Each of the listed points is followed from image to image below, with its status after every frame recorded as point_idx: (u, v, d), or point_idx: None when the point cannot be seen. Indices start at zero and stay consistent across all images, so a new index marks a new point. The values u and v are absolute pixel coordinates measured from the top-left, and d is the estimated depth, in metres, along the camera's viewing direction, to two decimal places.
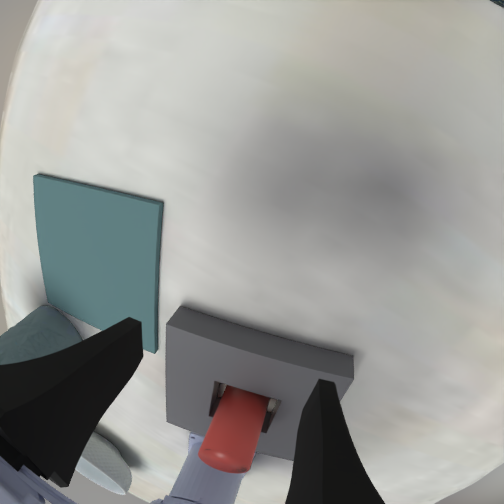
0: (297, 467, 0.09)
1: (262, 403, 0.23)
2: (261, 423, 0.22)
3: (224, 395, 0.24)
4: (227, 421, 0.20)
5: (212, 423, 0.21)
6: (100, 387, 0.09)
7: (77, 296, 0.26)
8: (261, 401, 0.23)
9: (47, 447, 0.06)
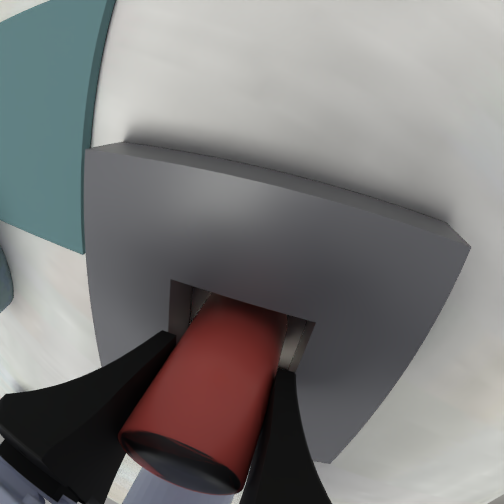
0: (254, 457, 0.09)
1: (272, 335, 0.11)
2: (270, 379, 0.10)
3: (193, 321, 0.12)
4: (189, 365, 0.09)
5: (158, 373, 0.09)
6: None
7: None
8: (269, 331, 0.11)
9: (87, 474, 0.06)
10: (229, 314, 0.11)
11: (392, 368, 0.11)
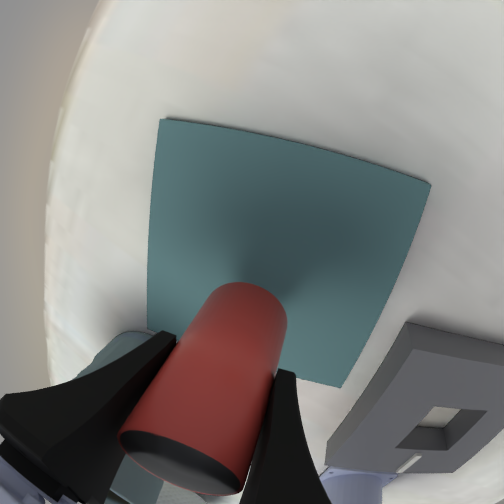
0: (254, 457, 0.09)
1: (271, 335, 0.11)
2: (270, 378, 0.10)
3: (192, 321, 0.12)
4: (187, 365, 0.09)
5: (157, 373, 0.09)
6: None
7: None
8: (268, 330, 0.11)
9: (87, 474, 0.06)
10: (228, 314, 0.11)
11: None
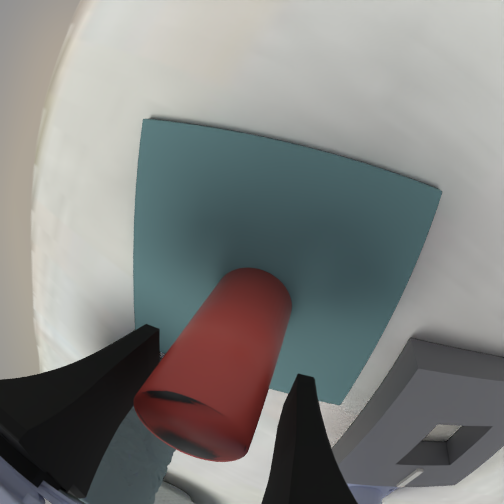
0: (275, 462, 0.09)
1: (276, 313, 0.13)
2: (275, 352, 0.11)
3: None
4: (201, 334, 0.10)
5: (172, 345, 0.11)
6: (118, 397, 0.09)
7: None
8: (273, 309, 0.13)
9: (67, 461, 0.06)
10: (237, 293, 0.13)
11: None
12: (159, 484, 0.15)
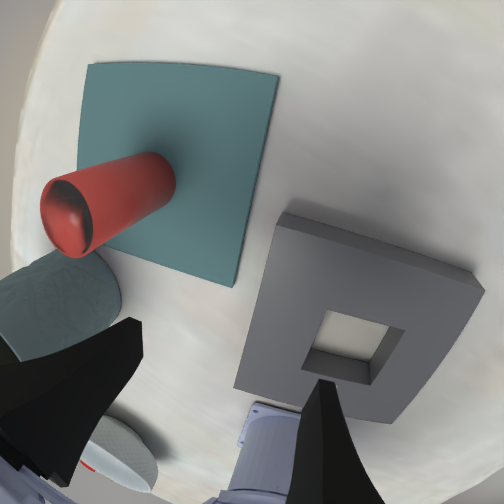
0: (297, 467, 0.09)
1: (151, 170, 0.17)
2: (141, 188, 0.15)
3: None
4: None
5: None
6: (100, 387, 0.09)
7: None
8: (149, 167, 0.17)
9: (47, 447, 0.06)
10: (126, 157, 0.16)
11: (439, 354, 0.18)
12: None
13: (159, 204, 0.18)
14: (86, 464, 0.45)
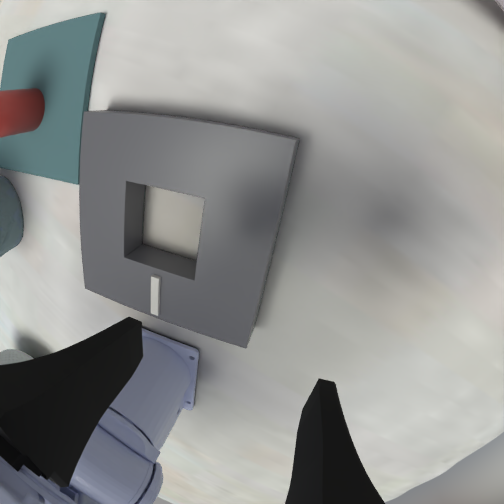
0: (297, 467, 0.09)
1: (22, 94, 0.17)
2: (9, 103, 0.15)
3: None
4: None
5: None
6: (100, 387, 0.09)
7: (20, 141, 0.21)
8: (22, 93, 0.17)
9: (47, 447, 0.06)
10: None
11: (263, 235, 0.17)
12: None
13: (28, 120, 0.18)
14: None
